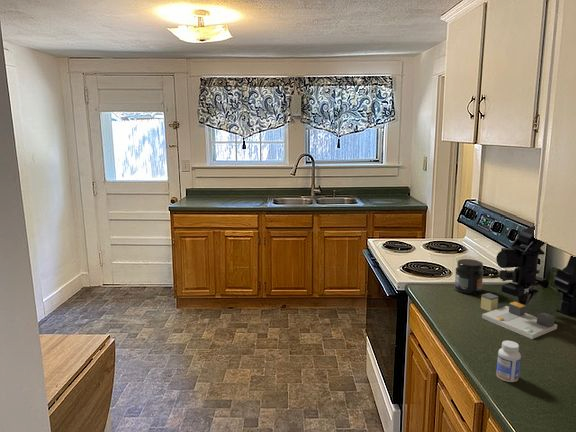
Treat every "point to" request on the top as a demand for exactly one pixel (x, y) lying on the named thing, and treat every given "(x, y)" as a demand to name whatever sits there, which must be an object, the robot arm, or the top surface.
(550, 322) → the plain toggle
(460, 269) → the supplement container
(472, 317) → the top surface
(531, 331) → the panel
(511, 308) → the tagged toggle
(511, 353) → the pill bottle
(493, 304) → the block
